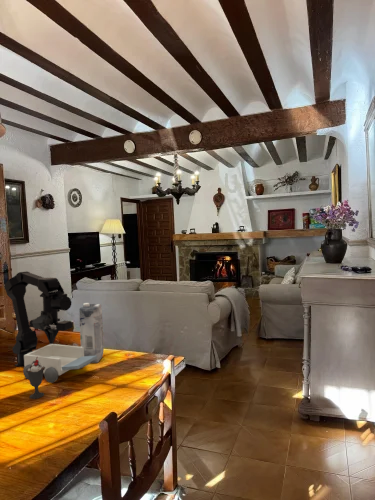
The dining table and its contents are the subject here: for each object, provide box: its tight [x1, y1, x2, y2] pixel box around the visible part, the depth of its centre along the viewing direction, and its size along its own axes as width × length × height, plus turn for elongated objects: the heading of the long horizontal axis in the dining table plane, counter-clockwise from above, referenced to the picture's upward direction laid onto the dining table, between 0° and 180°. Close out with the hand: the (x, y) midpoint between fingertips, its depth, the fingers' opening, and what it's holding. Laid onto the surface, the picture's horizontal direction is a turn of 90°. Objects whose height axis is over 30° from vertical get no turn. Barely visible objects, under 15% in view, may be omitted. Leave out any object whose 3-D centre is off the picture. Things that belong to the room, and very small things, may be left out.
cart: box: [23, 343, 84, 384], centre depth 154 cm, size 18×18×10 cm
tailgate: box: [62, 355, 97, 371], centre depth 149 cm, size 2×13×8 cm
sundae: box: [26, 357, 45, 400], centre depth 132 cm, size 7×7×15 cm
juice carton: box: [79, 302, 104, 364], centre depth 168 cm, size 9×10×27 cm
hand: (51, 343), depth 154 cm, fingers closed
